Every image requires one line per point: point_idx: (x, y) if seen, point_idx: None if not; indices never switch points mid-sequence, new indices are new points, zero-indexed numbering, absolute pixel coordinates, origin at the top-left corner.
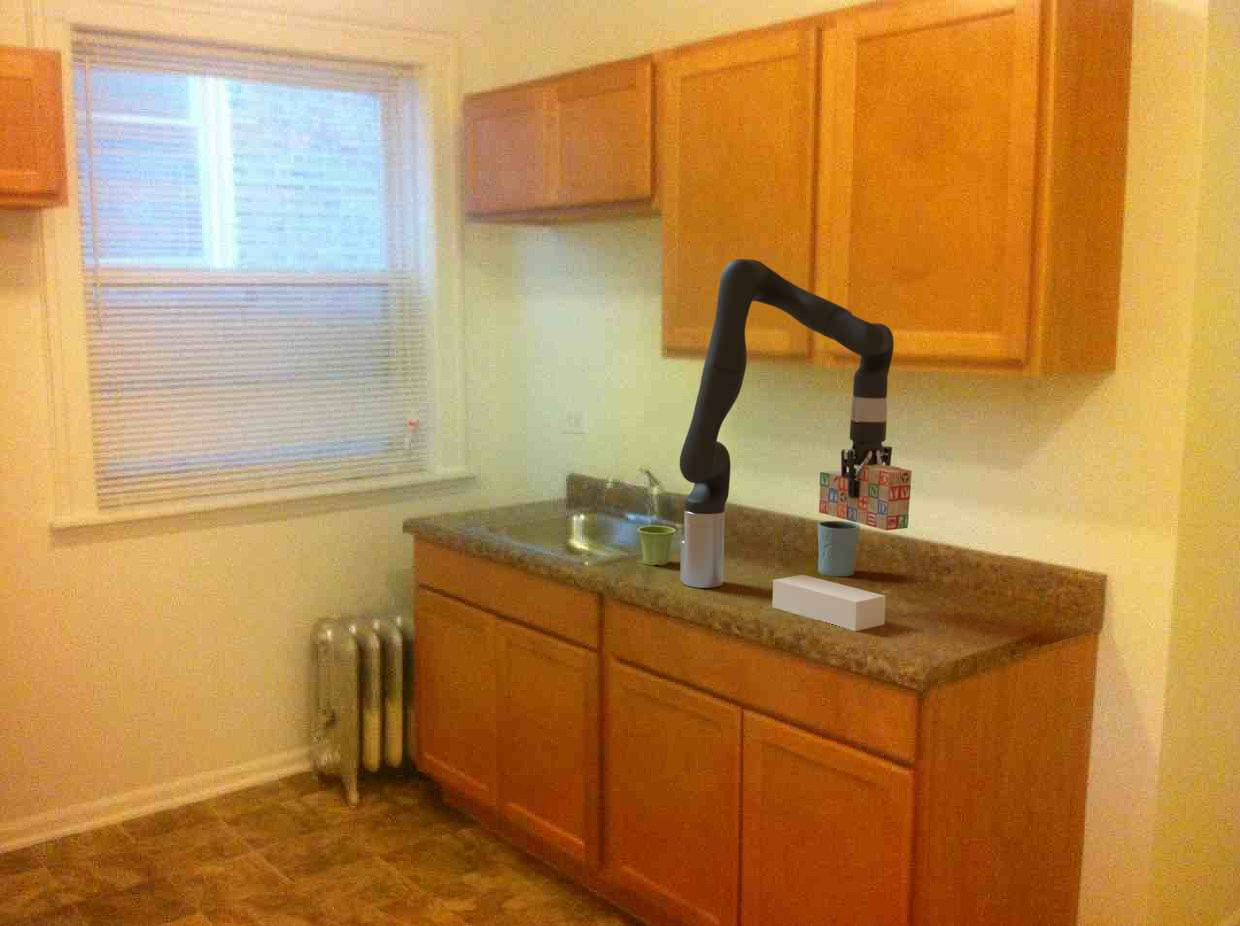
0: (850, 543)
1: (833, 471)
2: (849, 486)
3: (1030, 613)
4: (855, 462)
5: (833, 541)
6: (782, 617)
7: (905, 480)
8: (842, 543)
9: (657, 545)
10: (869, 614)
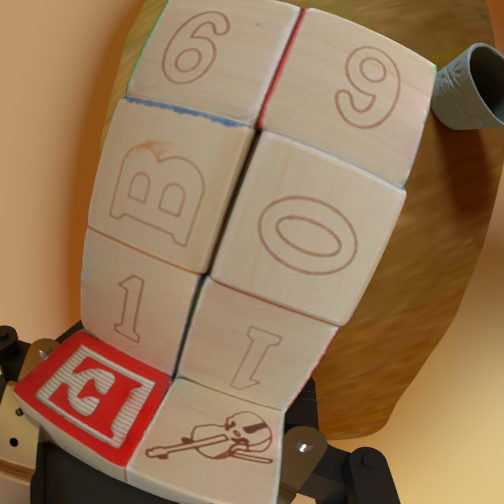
0: (476, 119)
1: (296, 34)
2: (70, 334)
3: (371, 407)
4: (34, 441)
5: (458, 87)
6: None
7: None
8: (465, 105)
9: None
10: None
